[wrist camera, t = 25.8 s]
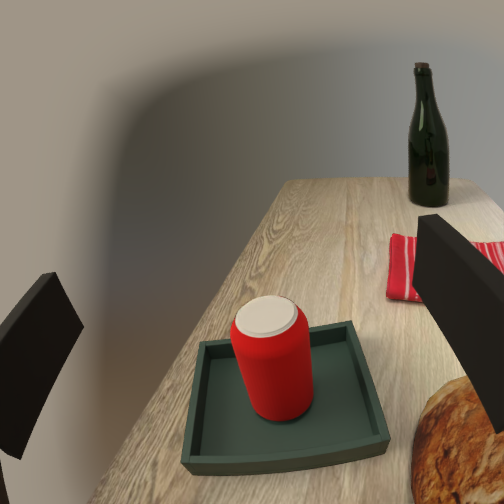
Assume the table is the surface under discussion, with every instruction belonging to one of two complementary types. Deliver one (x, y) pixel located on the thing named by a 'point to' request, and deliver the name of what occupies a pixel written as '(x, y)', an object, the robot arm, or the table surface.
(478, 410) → the bread
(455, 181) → the table surface
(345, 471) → the table surface
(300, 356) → the beverage can
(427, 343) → the table surface
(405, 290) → the dish towel
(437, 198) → the wine bottle
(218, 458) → the drinks tray
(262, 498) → the table surface
